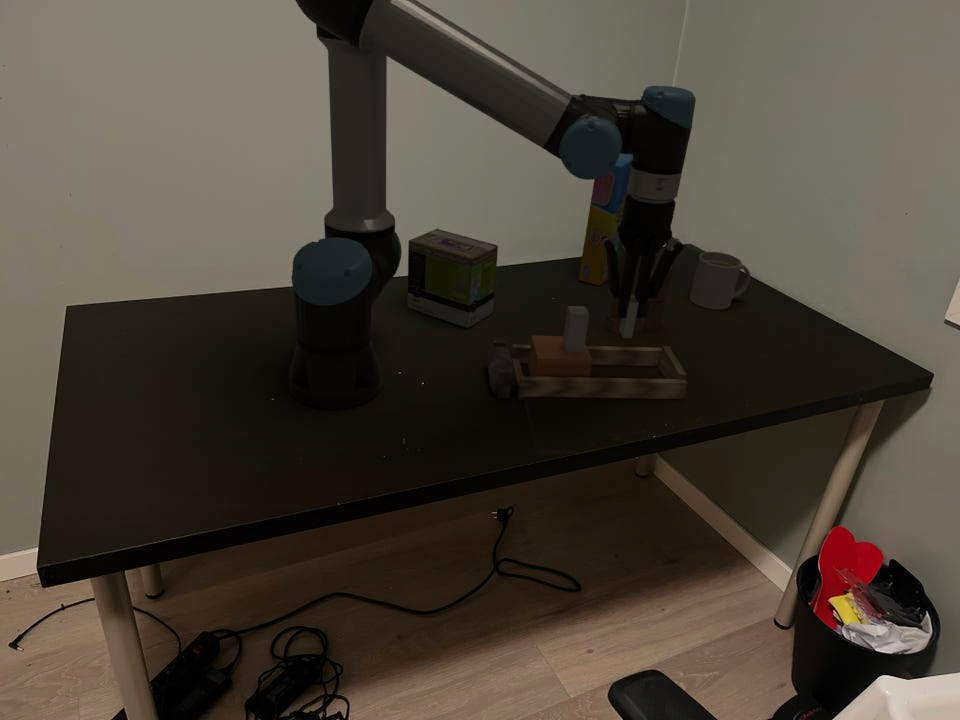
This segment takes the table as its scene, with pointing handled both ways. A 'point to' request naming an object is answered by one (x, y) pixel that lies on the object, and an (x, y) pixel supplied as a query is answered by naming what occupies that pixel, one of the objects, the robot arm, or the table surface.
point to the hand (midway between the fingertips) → (625, 334)
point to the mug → (717, 280)
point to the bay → (510, 377)
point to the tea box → (451, 277)
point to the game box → (604, 220)
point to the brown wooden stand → (650, 309)
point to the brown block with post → (563, 349)
